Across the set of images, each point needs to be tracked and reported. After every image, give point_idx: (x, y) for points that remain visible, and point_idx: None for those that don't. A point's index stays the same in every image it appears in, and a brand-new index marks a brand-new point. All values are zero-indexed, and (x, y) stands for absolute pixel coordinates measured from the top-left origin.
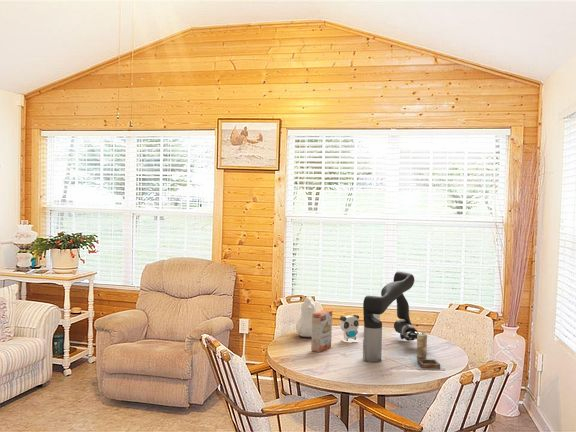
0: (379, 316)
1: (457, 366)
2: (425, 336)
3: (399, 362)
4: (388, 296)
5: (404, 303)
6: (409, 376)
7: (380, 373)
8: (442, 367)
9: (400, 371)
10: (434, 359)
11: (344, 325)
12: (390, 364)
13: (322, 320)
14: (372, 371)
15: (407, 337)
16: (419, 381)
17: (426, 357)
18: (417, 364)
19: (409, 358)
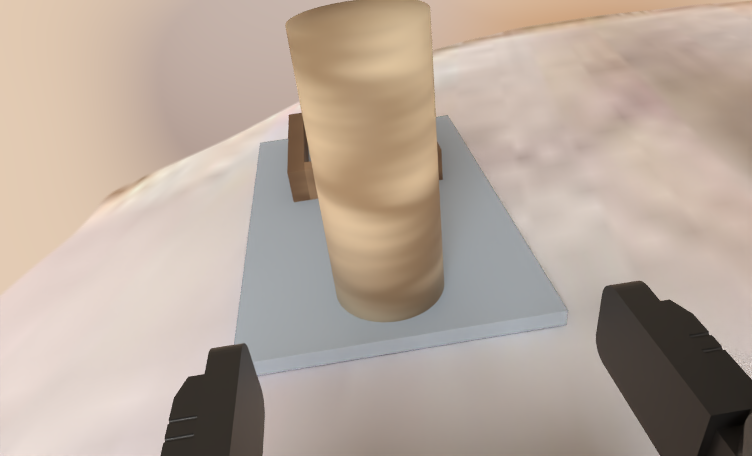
0: None
1: (125, 222)
2: (319, 9)
3: (601, 199)
4: None
5: None
6: (489, 73)
7: (651, 66)
8: (270, 154)
9: (548, 98)
10: (293, 169)
11: None
12: (658, 156)
13: None
14: (710, 71)
15: (655, 303)
16: (441, 55)
17: (326, 316)
18: (442, 159)
19: (521, 251)
